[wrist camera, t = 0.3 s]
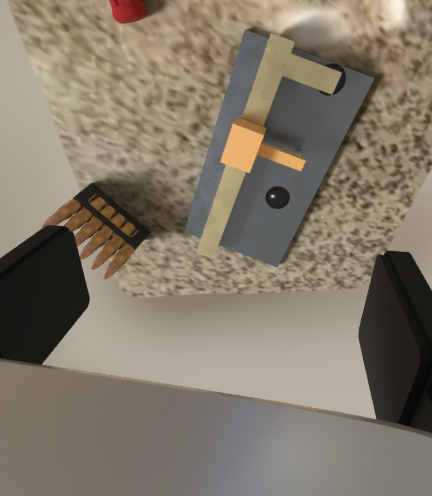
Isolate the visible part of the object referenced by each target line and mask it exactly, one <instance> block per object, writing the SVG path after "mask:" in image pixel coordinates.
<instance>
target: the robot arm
mask: <svg viewBox="0 0 432 496" xmlns="http://www.w3.org/2000/svg"><path fill="white" fill-rule="evenodd" d="M89 299H90V298H89V293H88V289H87V286H86V281H85V277H84V273H83V269H82V265H81V261H80V256H79V252H78V248H77V244H76V240H75V236H74V233H73V232H72V231H70V230H69V229H68V227H66V226H56V225H47V226H45V227H44V228H42V229H41V230H40V231H38V232H37V233H35V234H34V235H33V236H31V237H30V238H28V239H27V240H26V241H24V242H23V243H21V244H20V245H18V246H17V247H16V248H14V249H13V250H11V251H10V252H9V253H7V254H6V255H4V256H3V257H1V258H0V496H432V290H431V288H430V287H429V285H428V284H427V282H426V280H425V278H424V276H423V274H422V273H421V271H420V269H419V267H418V266H417V264H416V262H415V261H414V259H413V257H412V255H411V254H410V253H409V252H399V251H386V252H385V253H384V255H378V256H377V258H376V261H375V265H374V269H373V273H372V278H371V282H370V286H369V290H368V294H367V298H366V302H365V306H364V311H363V314H362V318H361V323H360V327H359V343H360V347H361V351H362V356H363V361H364V365H365V370H366V374H367V378H368V383H369V387H370V392H371V396H372V400H373V405H374V410H375V414H376V418H377V419H371V418H366V417H362V416H357V415H352V414H346V413H341V412H336V411H330V410H324V409H318V408H312V407H305V406H300V405H294V404H289V403H283V402H276V401H269V400H264V399H258V398H252V397H245V396H239V395H233V394H226V393H221V392H214V391H208V390H202V389H196V388H190V387H183V386H177V385H171V384H163V383H157V382H151V381H145V380H138V379H132V378H126V377H119V376H113V375H106V374H100V373H93V372H87V371H80V370H73V369H67V368H60V367H53V366H47V365H42V363H43V362H44V361H45V360H46V358H47V357H48V356H49V355H50V353H51V352H52V351H53V349H54V348H55V347H56V346H57V345H58V343H59V342H60V341H61V340H62V338H63V337H64V336H65V335H66V334H67V332H68V331H69V330H70V329H71V327H72V326H73V325H74V323H75V322H76V321H77V320H78V319H79V317H80V316H81V315H82V314H83V312H84V311H85V310H86V309H87V307H88V305H89V301H90V300H89Z"/></svg>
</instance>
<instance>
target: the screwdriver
mask: <svg viewBox="0 0 432 496" xmlns="http://www.w3.org/2000/svg"><path fill="white" fill-rule="evenodd" d="M109 1H110V4H111V7H112V11H113V17H114V19H115V20H116V21H117V22H119V23H122V24H123V23H130V22H134V21H138V20H140V19H142V18H143V17H144V16H145V13H146V7H145V5H144V3H143V0H109Z"/></svg>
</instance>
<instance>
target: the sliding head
mask: <svg viewBox="0 0 432 496" xmlns="http://www.w3.org/2000/svg"><path fill="white" fill-rule="evenodd" d="M265 131H266V128H265V127H263V126H260V125H257V124H255V123H252V122H249V121H247V120H244V119H241V118H239V117H238V118H237V119H236V120H235V122H234V123H233V125H232V128H231V131H230V134H229V137H228V140H227V143H226V146H225V149H224V152H223V155H222V158H221V161H220V162H221V163H224V164H226V165H229V166H232V167H234V168H237V169H240V170H242V171H245V172H248V173H250V171H251V168H252V165H253V163H254V160H255V158H256V155H259V156H261V157H264V158H267V159H269V160H272V161H275V162H277V163H280V164H283V165H285V166H288V167H291V168H293V169H296V170H299V171H301V170H302V168H303V166H304V164H305V162H306V158H304V157H301V152H300V151H299V150H297V151H296V152H295V154H293V153H291V152H288V151H285V150H283V149H280V148H277V147H275V146H272V145H269V144H267V143H264V142H262V139H263V137H264V134H265Z"/></svg>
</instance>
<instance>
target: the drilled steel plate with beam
mask: <svg viewBox="0 0 432 496" xmlns="http://www.w3.org/2000/svg"><path fill="white" fill-rule="evenodd" d="M294 44H295V42H294V41H291V40H289V39H286V38H283V37H281V36H278V35H275V34H273V33H271V34H270V37H269V38H266V37H264V36H261V35H258V34H256V33H253V32H250V31H248V30H245V31H244V34H243V38H242V41H241V44H240V48H239V51H238V54H237V58H236V61H235V64H234V67H233V71H232V74H231V77H230V81H229V84H228V87H227V91H226V94H225V97H224V100H223V104H222V107H221V110H220V114H219V117H218V120H217V124H216V127H215V130H214V133H213V137H212V140H211V143H210V147H209V150H208V153H207V157H206V160H205V163H204V166H203V170H202V173H201V176H200V180H199V183H198V186H197V190H196V193H195V196H194V200H193V203H192V206H191V209H190V213H189V216H188V219H187V223H186V226H185V229H184V232H186V233H189V234H191V235H194V236H197V237H199V238H201V240H200V243H199V246H198V249H197V252H196V253H199V254H202V255H204V256H207V257H210V258H212V259H213V258H214V256H215V253H216V250H217V248H218V245H220V246H223V247H225V248H228V249H231V250H233V251H236V252H239V253H241V254H244V255H246V256H249V257H252V258H254V259H257V260H260V261H262V262H265V263H268V264H270V265H273V266H275V267H278V266H279V264H280V262H281V260H282V258H283V256H284V254H285V252H286V250H287V248H288V246H289V244H290V242H291V241H292V239H293V237H294V235H295V233H296V231H297V229H298V227H299V225H300V223H301V221H302V219H303V217H304V215H305V213H306V211H307V209H308V207H309V205H310V203H311V202H312V200H313V198H314V196H315V194H316V192H317V190H318V188H319V186H320V184H321V182H322V180H323V178H324V176H325V174H326V172H327V170H328V168H329V166H330V164H331V163H332V161H333V159H334V157H335V155H336V153H337V151H338V149H339V147H340V145H341V143H342V141H343V139H344V137H345V135H346V133H347V131H348V129H349V127H350V125H351V124H352V122H353V120H354V118H355V116H356V114H357V112H358V110H359V108H360V106H361V104H362V102H363V100H364V98H365V96H366V94H367V92H368V90H369V88H370V86H371V85H372V83H373V81H374V79H375V78H373V77H371V76H368V75H365V74H362V73H360V72H357V71H354V70H352V69H349V68H346V67H344V66H341V65H338V64H336V63H333V62H330V61H328V60H325V59H322V58H320V57H317V56H314V55H312V54H309V53H306V52H304V51H301V50H298V49H296V48H293V46H294ZM238 117H239V118H241V119H244V120H247V121H249V122H252V123H255V124H257V125H260V126H263V127H265V128H266V131H265V134H264V137H263V139H262V142H264V143H267V144H269V145H272V146H275V147H277V148H280V149H283V150H285V151H288V152H291V153H293V154H295V152H296V151H297V150H299V151H300V152H301V157H304V158H306V162H305V164H304V166H303V168H302V170H301V171H299V170H296V169H293V168H291V167H288V166H285V165H283V164H280V163H277V162H275V161H272V160H269V159H267V158H264V157H261V156H259V155H256V158H255V160H254V163H253V165H252V168H251V171H250V173H248V172H245V171H242V170H240V169H237V168H234V167H232V166H229V165H226V164H224V163H221V162H220V161H221V158H222V155H223V152H224V149H225V146H226V143H227V140H228V137H229V134H230V131H231V128H232V125H233V123H234V122H235V120H236V119H237V118H238Z"/></svg>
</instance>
